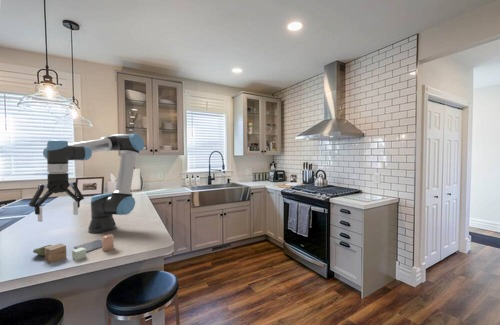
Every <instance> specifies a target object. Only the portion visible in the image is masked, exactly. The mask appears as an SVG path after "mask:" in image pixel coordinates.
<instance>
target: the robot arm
mask: <svg viewBox="0 0 500 325" xmlns="http://www.w3.org/2000/svg"><path fill="white" fill-rule="evenodd" d="M144 148H145V141H144V139H143V137H142V136H141V135H140V134H138V133H116V134H112V135H107V136H102V137H100V139H91V140H86V141H79V142H72V143H69V141H67V140H62V139H61V140H60V139H59V140H58V139H50V140H48V141H47V143H46V147H45V148H43V151H42V155H43V157H44V158H45V159H46V160H47V161H46V165H47V167H46V168H47V169H46V171H47V173H48V174H47V184H38V187H37V189H36V192H35V193H34V195H33V196H32V199H30V202H29V203H28V206H29V207H33V208H34V214H35V215H37V222H39V223H40V222H41V223H42V222H43V206H42V205H43V204H44V203H45V201H47V200H48V199H49V197H51V195H53V194H58V193H66V194H67V195H68V196H69V197H71V198H72V199H73V200H74V201H72V208H73V210H72V214H73V216H74V215H75V216H77V215H78V214H79V208H80V207H81V205H80V202H81V201H82V200H84V199H85V197H84V195H83V194H82V192H81V191H80V188H78V185H77V182H76V181H71V182H70V181H69V161H89V160H90V159H91V157H92V155H93V153H98V152H103V151H104V152H109V151H117V152H119V153H120V154H121V156H120V161H119V168H118V174H117V179H116V185H115V190H114V191H112V192H109V193H104V194H96V195H93V196H91V198H90V213H91V216H90V218H91V219H90V222H89V225H88V228H87V232H88V233H91V234H102V233H107V232H111V231H113V230H115V229H116V228H117V224H116V221H115V219H114V215H119V216H122V215H123V216H124V215H129V214H131V212H132V211H133V210H134V208H135V205H136V199H135V198H134V197H133V192H131V189H132V183H133V178H134V171H135V164H136V158H137V157H138V156H139V154H140V152H141V151H143V150H144ZM69 187H71V188H72V190H73V191H74V193H75V194H74V193H73V192H72V191H71V190H70V189H69ZM46 188H47V189H48V190H46V192H45V193H44V194H43V192H44V190H45V189H46ZM42 194H43V196H41V195H42Z"/></svg>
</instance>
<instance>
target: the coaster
mask: <svg viewBox="0 0 500 325" xmlns="http://www.w3.org/2000/svg"><path fill="white" fill-rule="evenodd" d="M73 247H74V250H75V249H78V248H81V247H82V248H85V249H86V254H87V253H90V252H92V251H93V252H94V251H96V250H98V249H101V248H102V239H96V240H93V241H90V242H86V243H83V244H79V245H75V246H73Z"/></svg>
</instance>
